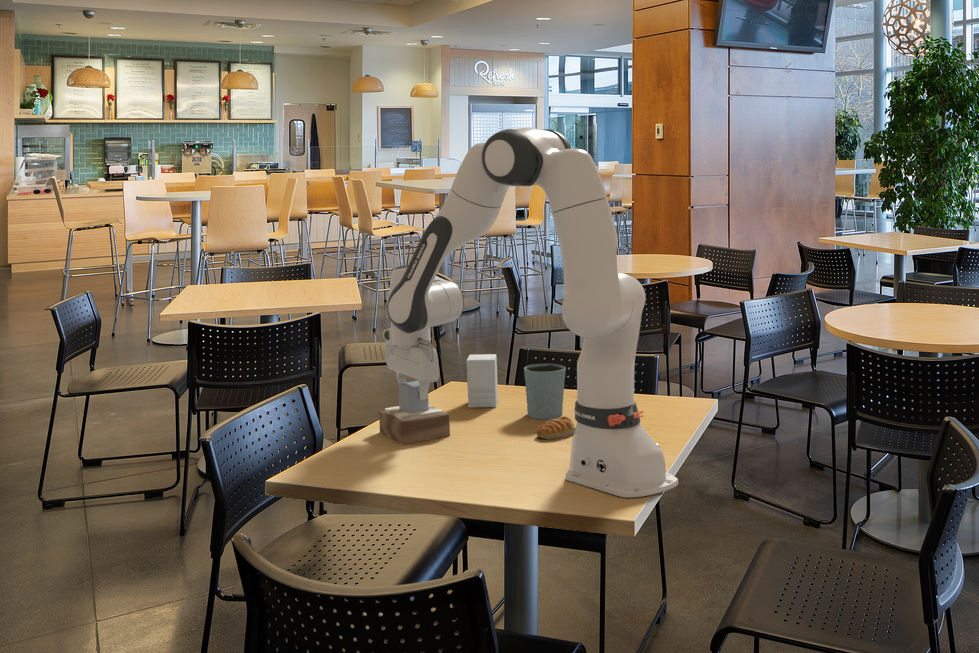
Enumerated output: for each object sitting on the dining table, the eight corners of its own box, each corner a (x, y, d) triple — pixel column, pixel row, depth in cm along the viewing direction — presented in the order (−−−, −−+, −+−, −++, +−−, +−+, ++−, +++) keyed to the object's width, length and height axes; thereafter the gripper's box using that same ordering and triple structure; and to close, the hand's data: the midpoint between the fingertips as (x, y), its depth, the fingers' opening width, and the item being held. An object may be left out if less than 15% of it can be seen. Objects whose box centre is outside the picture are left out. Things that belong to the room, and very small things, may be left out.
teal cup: (521, 419, 216) (521, 371, 214) (527, 409, 226) (526, 362, 224) (563, 420, 214) (563, 372, 212) (567, 410, 224) (567, 363, 222)
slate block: (428, 410, 204) (427, 384, 203) (409, 413, 201) (408, 387, 200) (418, 405, 208) (417, 380, 207) (399, 409, 206) (398, 383, 205)
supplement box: (498, 400, 235) (497, 353, 233) (496, 408, 227) (495, 359, 225) (470, 400, 235) (469, 353, 233) (467, 407, 228) (466, 359, 226)
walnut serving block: (449, 435, 204) (449, 411, 203) (402, 444, 198) (401, 419, 197) (425, 424, 214) (424, 400, 213) (379, 432, 208) (378, 408, 207)
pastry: (552, 443, 197) (552, 426, 196) (529, 438, 202) (528, 421, 201) (578, 434, 204) (578, 417, 203) (555, 429, 208) (554, 413, 208)
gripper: (445, 340, 195) (447, 401, 197) (403, 328, 212) (406, 384, 214) (419, 343, 192) (421, 406, 194) (379, 331, 209) (382, 388, 211)
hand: (413, 394), depth 204 cm, fingers open, 8 cm apart
